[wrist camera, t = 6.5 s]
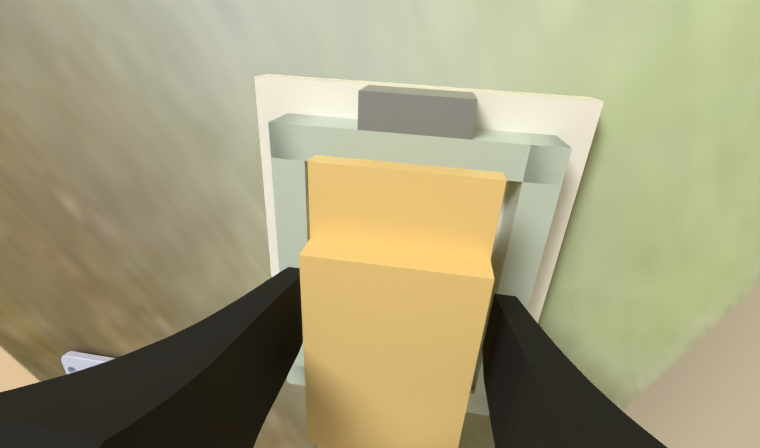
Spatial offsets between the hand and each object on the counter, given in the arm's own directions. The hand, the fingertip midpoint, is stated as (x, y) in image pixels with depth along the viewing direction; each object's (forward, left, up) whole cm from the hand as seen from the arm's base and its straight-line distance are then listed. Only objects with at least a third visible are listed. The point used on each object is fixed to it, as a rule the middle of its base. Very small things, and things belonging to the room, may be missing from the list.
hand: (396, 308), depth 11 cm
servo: (0, 0, -2) cm, 2 cm away
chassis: (0, 0, -3) cm, 3 cm away
